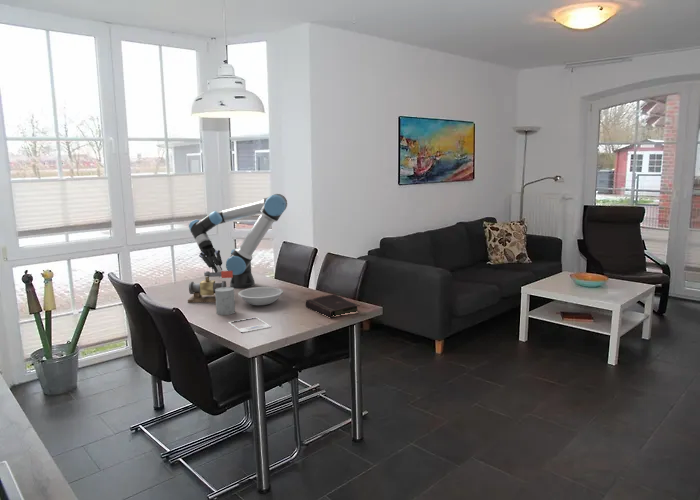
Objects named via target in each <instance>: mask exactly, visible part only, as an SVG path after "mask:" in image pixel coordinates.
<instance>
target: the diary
mask: <svg viewBox="0 0 700 500" xmlns="http://www.w3.org/2000/svg"><path fill="white" fill-rule="evenodd" d="M304 304H305V307H306V308H307V307H308V308H307V309H309V308H310V309H309V310H311V309H312V311H313V310H314V311H313V312H315V311H317V312H319V313H321V314H320V315H322V314H324V315H326V316H328V317H330V318H332V317H331V316H333V315H334V316H336V315H341V314H345V313H350V312H356V311H358V307H360V305H359V304H357V303H355V302H352V301H349V300H347V299H346V298H343V297H341V296H339V295H337V294H328V295H323V296H318V297H314V298H310V299H306V300H305V303H304ZM317 312H316V313H317ZM319 313H318V314H319ZM324 315H323V316H324ZM326 316H325V317H326ZM328 317H327V318H328ZM330 318H329V319H330Z"/></svg>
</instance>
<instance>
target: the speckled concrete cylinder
mask: <svg viewBox="0 0 700 500" xmlns="http://www.w3.org/2000/svg"><path fill="white" fill-rule="evenodd" d="M214 295H215V296H216V302H215V312H216V314H217V315H219V316H229V315H231V314H235V312H236V305H235V304H236V303H235V288H234V287H231V286H226V287H220V288H216V289H215V294H214Z"/></svg>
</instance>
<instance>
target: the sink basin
mask: <svg viewBox="0 0 700 500" xmlns="http://www.w3.org/2000/svg"><path fill="white" fill-rule="evenodd" d="M283 293H284V291H283V290H282V289H281V288H279V287H272V286H257V287H256V286H255V287H247V288H244V289H242V290H240V291H239V292H238V293H237V296H239V297H241V298H242V300H243V301H244V302H245V303H247V304H249V305H252V306H265V305H270V304H272V303H274V302H275V301H277V300H278V299H279V297H280V296H282V294H283Z"/></svg>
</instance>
